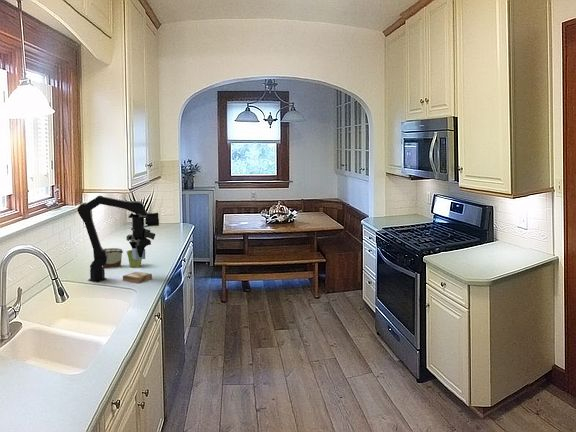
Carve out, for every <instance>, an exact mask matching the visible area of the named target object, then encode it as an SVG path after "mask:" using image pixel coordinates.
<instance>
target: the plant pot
mask: <svg viewBox="0 0 576 432" xmlns="http://www.w3.org/2000/svg"><path fill="white" fill-rule="evenodd" d="M125 252H126V255H127V257H128V263H129V267H131V268H138V267H142V260H143V259H139V260H135V259H133V258H132V249H130V250H127V251H125Z"/></svg>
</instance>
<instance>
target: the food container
mask: <svg viewBox="0 0 576 432" xmlns="http://www.w3.org/2000/svg"><path fill="white" fill-rule="evenodd" d="M106 251H107V254H108V259H107V262H106V264H105V265H103V266H102V267H104V269H113V268H121V267H122V258H123V257H122V256H123V254H124V250H123V249H122V248H120V247H119V248H117V247H112V248H111V247H110V248H106Z"/></svg>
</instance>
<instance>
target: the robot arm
mask: <svg viewBox="0 0 576 432" xmlns="http://www.w3.org/2000/svg"><path fill="white" fill-rule="evenodd" d="M101 205H102V206H103V205H104V206H108V207H114V208H119V209H124V210H126V211H129V212H131V213H130V214H129V215H128V219H132V220H131V221H132V222H131V224H132V225H131V226H132V227H131V229H130V230H131V231H132V234H127V235H126V241H128V243H129V245H130V246H131V249H132V248H136V249H137V252H138V255H139V257H140V258H141V257H142V255H143V251H144V249H146V247H147V246H151V245H152V240H155V238H156V233H154V232H151V230H150V229H148V228H147V229H146V228H145V225H147V227H159V226H160V218H159V212H148V211H147V210H146V208H145V206H144V203H143V202H142V201H140V200H122V199H117V198H114V197H106V196H104V195H98V196H96V197H95V198H93V199H92V200H89V201H88V202H83V203H81V204H80V205H79V206H78V207H77V214H79V217H80V218H81V220H82V222H83V223H84V227H85V229H86V231H87V234H88V236H89V237H88V238H89V241H90V244H91V247H92V251H93V261H92V262H91V263H90V265H89V275H90V278H89V279H87V281H89V280H90V281H89V282H95V281H96V282H97V283H98V282H103V281H105V280H107V279H108V278H107V277H106V276H105V275H106V273H105V268H104V267H103V265H105V264H106V262H107V259H108V254H107V251H106V249H107V248H103V247H102V245H101V242H100V239H99V235H98V232H97V229H96V227H95V223H94V218H93V209H95V208H96V207H98V206H101Z"/></svg>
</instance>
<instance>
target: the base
mask: <svg viewBox="0 0 576 432" xmlns="http://www.w3.org/2000/svg"><path fill="white" fill-rule="evenodd" d="M152 279H153V274H152V273H149V272H140V271H134V272H131V273H128V274H125V275H122V282H123V281H124V282H130V283H134V284H141V283H143V282H145V281H146V282H147V281H149V280H152Z"/></svg>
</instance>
